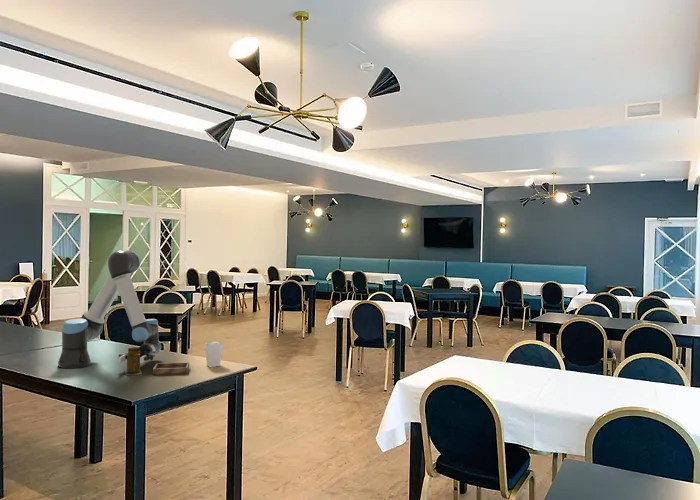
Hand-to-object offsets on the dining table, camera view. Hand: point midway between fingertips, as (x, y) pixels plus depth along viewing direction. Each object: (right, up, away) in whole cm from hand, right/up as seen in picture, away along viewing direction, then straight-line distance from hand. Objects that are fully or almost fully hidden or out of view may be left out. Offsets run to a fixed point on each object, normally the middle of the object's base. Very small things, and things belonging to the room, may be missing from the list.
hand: (130, 360), depth 266 cm
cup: (+35, -8, +23) cm, 42 cm away
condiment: (0, -7, +4) cm, 9 cm away
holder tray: (+17, -7, +8) cm, 20 cm away
